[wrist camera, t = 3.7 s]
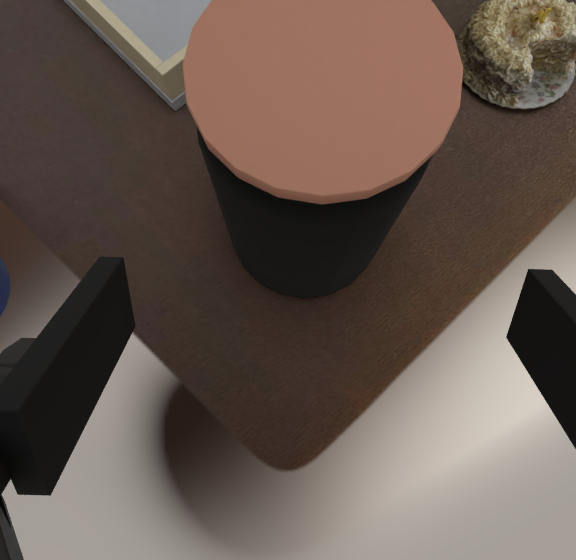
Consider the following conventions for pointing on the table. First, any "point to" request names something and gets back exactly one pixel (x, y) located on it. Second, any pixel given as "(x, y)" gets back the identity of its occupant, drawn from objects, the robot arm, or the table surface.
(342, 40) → the coffee jar
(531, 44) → the cake
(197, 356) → the table surface
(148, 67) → the shallow square crate
